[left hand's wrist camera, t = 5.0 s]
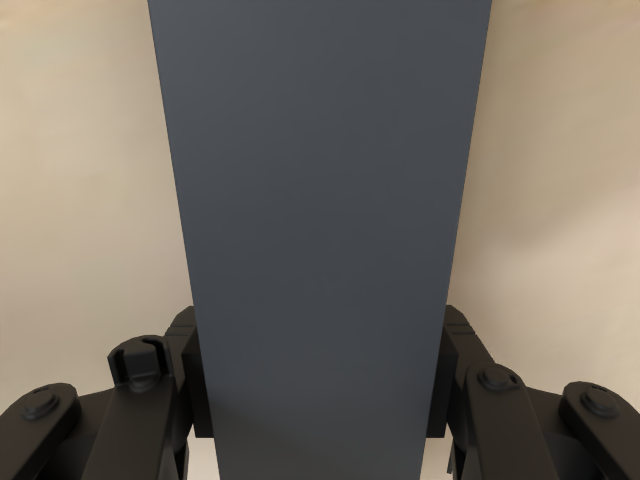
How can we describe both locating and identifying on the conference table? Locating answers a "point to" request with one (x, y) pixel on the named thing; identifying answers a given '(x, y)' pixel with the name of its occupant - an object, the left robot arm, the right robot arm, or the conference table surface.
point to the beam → (319, 218)
